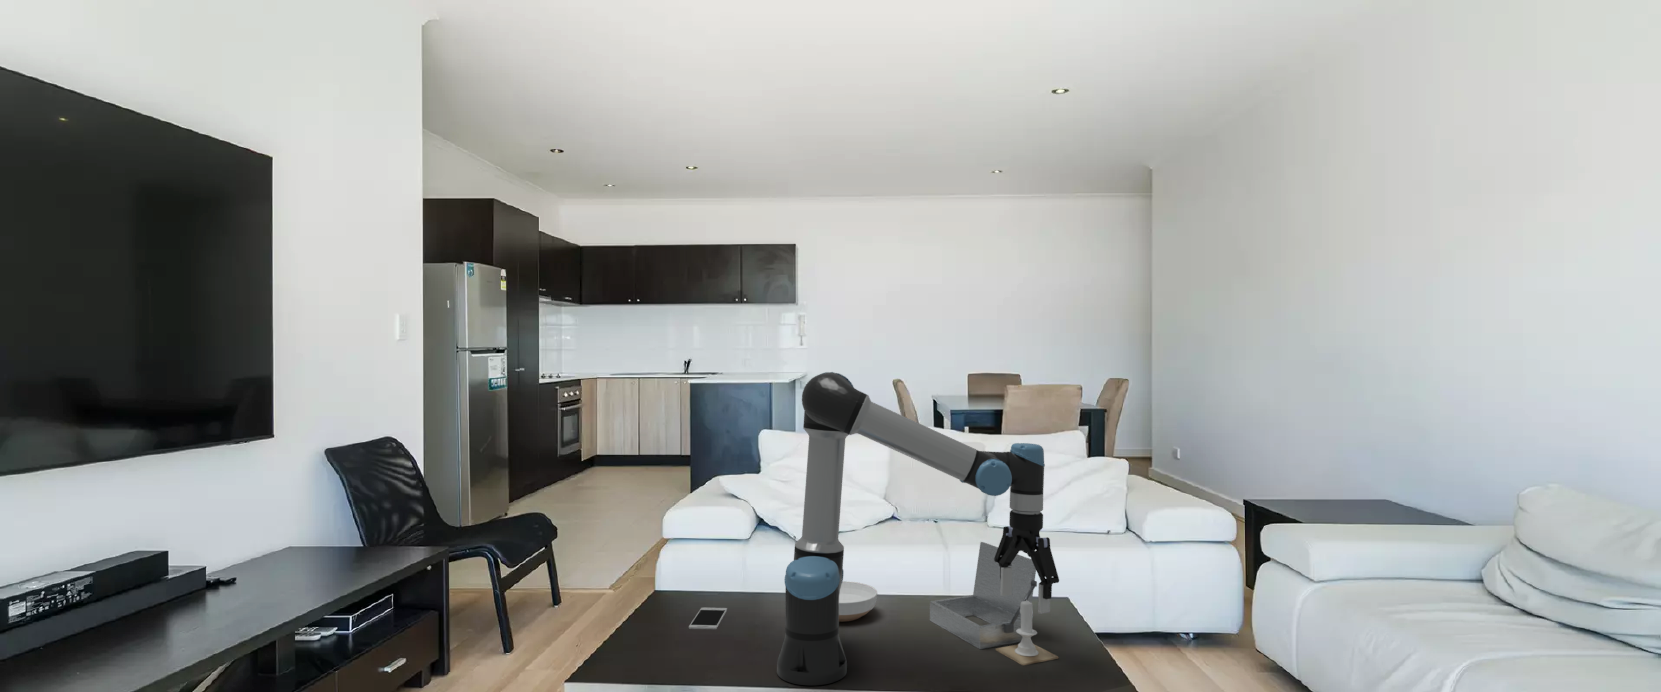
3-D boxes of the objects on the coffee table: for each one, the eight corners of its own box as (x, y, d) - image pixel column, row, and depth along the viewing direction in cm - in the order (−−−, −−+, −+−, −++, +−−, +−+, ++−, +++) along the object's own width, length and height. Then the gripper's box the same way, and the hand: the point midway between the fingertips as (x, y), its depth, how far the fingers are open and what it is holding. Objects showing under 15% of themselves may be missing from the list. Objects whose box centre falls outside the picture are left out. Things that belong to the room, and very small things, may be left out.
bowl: (878, 604, 215) (878, 582, 215) (875, 628, 196) (875, 604, 196) (808, 602, 217) (809, 580, 217) (799, 625, 198) (799, 601, 198)
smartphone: (727, 611, 210) (727, 607, 210) (716, 631, 195) (716, 627, 195) (701, 610, 211) (701, 607, 211) (688, 630, 195) (688, 626, 195)
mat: (1022, 665, 172) (1022, 663, 172) (995, 650, 181) (995, 648, 181) (1058, 658, 176) (1058, 656, 176) (1029, 643, 185) (1029, 642, 185)
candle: (1016, 646, 182) (1016, 595, 182) (1039, 650, 180) (1039, 598, 180) (1013, 654, 177) (1012, 602, 177) (1037, 658, 175) (1036, 604, 175)
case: (982, 650, 181) (982, 569, 181) (929, 620, 202) (929, 547, 202) (1040, 640, 188) (1039, 561, 188) (983, 612, 209) (983, 541, 209)
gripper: (1077, 520, 169) (1075, 618, 169) (1006, 500, 192) (1004, 586, 192) (1049, 522, 166) (1047, 622, 166) (980, 502, 189) (978, 589, 189)
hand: (1024, 603), depth 179 cm, fingers open, 13 cm apart
